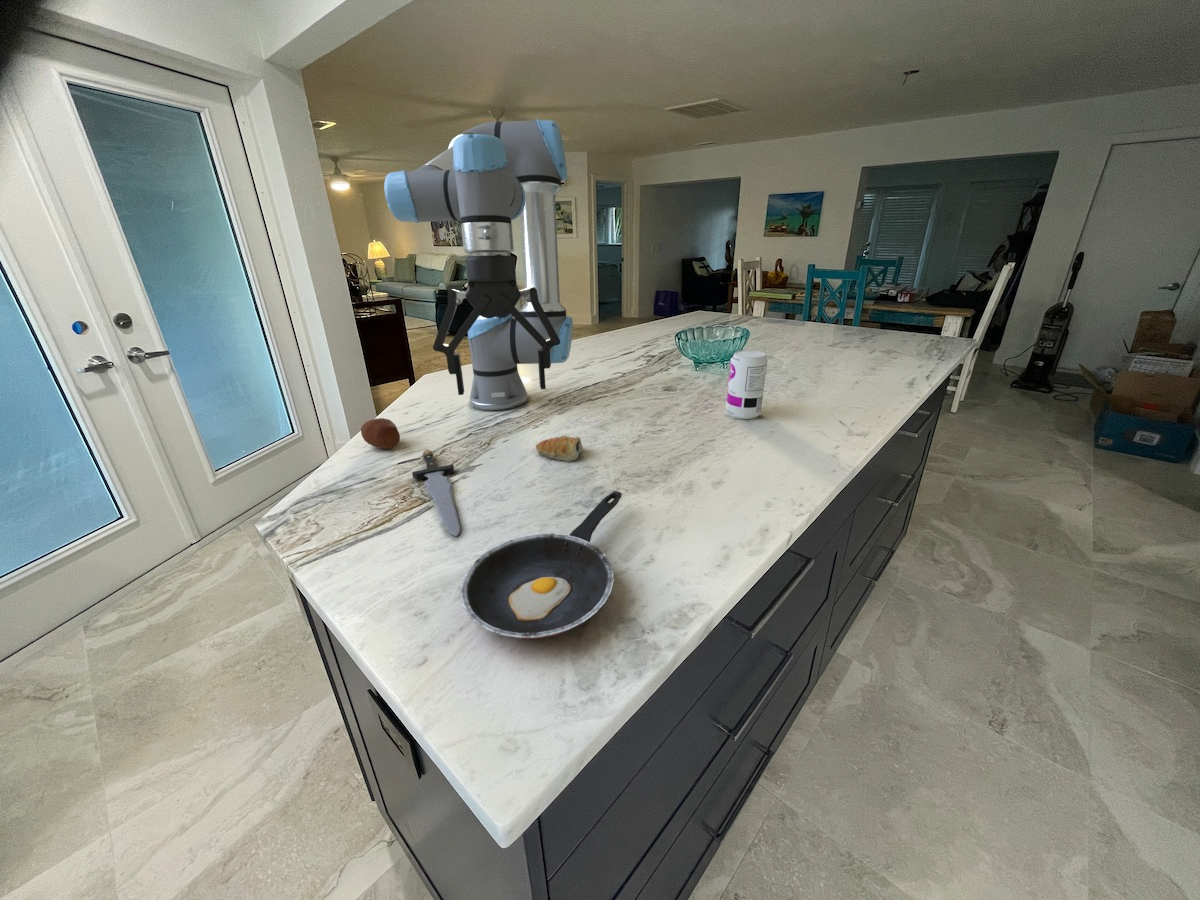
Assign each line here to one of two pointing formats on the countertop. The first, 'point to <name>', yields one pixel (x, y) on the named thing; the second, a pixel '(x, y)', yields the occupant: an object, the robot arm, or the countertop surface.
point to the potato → (380, 433)
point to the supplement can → (746, 384)
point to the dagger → (440, 490)
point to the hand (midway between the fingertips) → (502, 390)
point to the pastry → (560, 448)
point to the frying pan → (540, 581)
